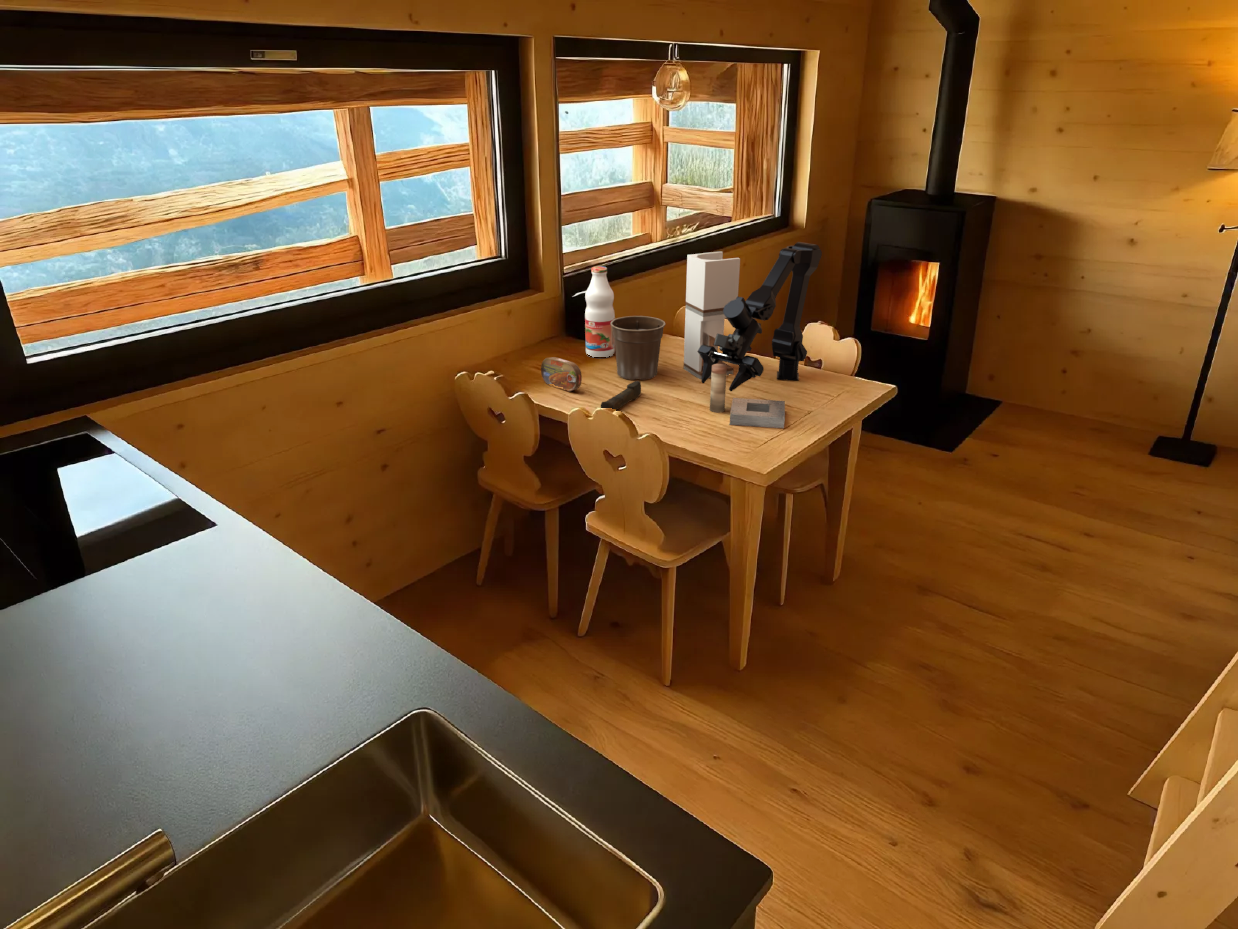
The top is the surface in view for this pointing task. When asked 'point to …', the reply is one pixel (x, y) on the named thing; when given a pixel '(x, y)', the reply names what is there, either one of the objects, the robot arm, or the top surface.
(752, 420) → the square hole block
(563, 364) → the tin
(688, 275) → the white tower stand
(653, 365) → the plant pot
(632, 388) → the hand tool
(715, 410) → the beech pin
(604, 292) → the fruit juice
